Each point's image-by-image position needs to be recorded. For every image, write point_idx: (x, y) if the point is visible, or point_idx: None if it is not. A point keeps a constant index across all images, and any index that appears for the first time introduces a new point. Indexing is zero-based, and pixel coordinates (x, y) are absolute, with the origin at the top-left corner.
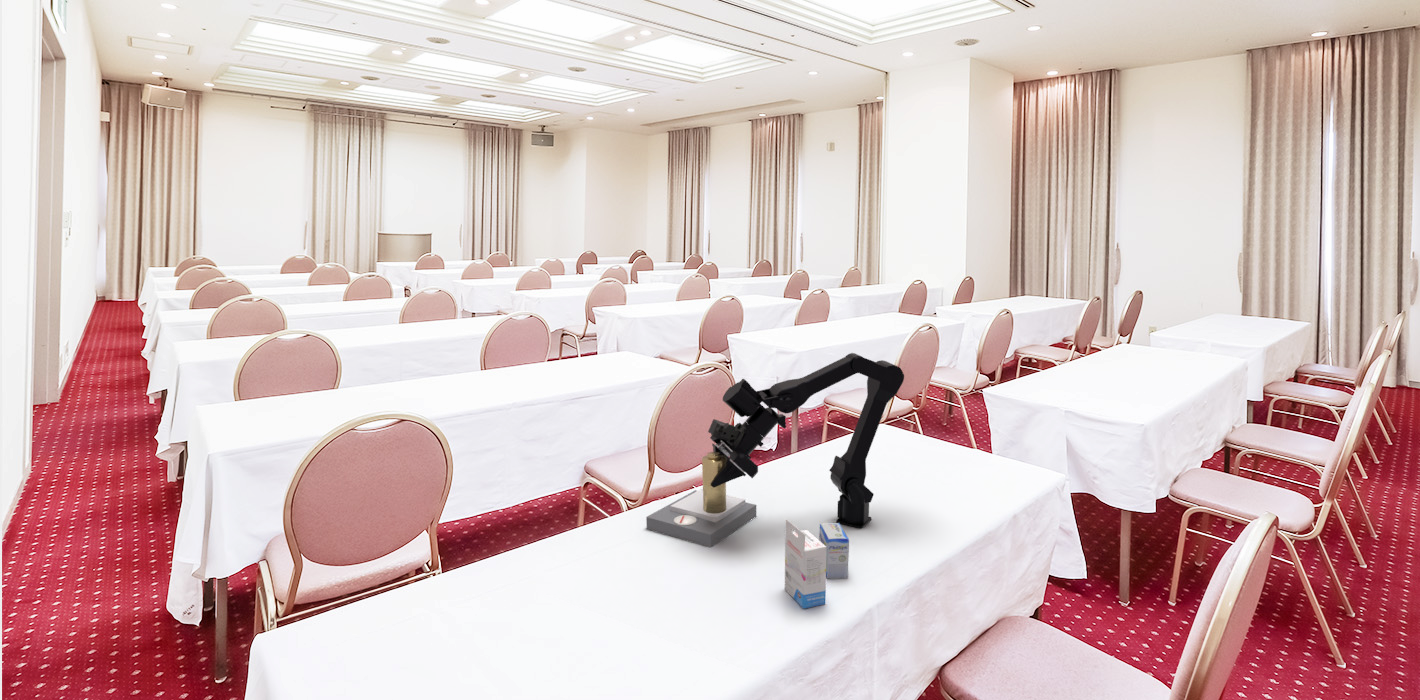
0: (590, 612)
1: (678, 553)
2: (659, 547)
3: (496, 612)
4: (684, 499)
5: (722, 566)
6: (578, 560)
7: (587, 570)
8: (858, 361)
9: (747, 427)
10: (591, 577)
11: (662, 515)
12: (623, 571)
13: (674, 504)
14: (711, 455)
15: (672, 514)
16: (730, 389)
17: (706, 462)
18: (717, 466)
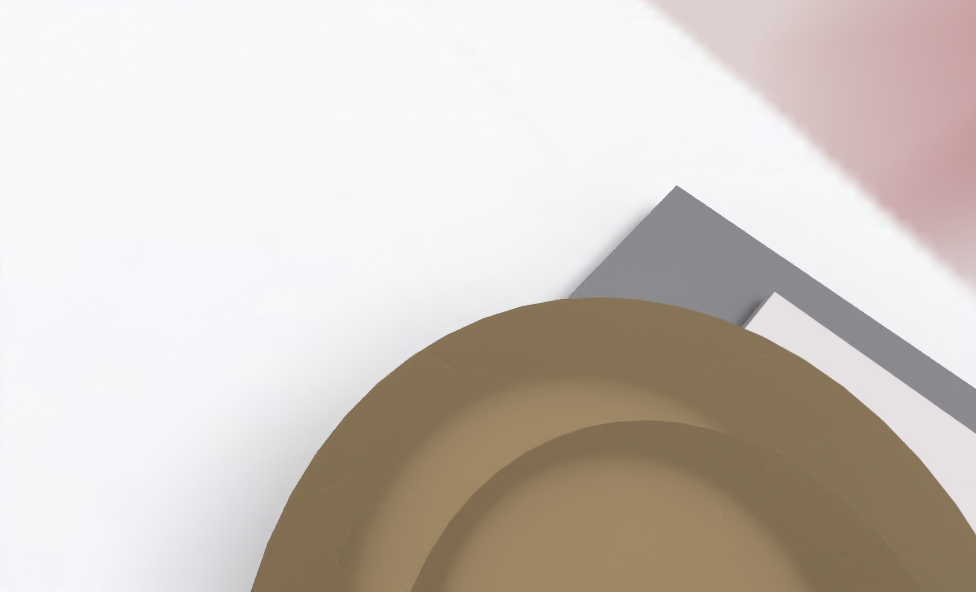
0: (85, 45)
1: (383, 324)
2: (462, 254)
3: None
4: (890, 388)
5: (186, 508)
6: (423, 14)
7: (344, 36)
8: None
9: None
10: (292, 45)
11: (692, 257)
12: (298, 126)
13: (798, 317)
14: (491, 563)
15: (703, 308)
16: None
17: (396, 379)
18: None
